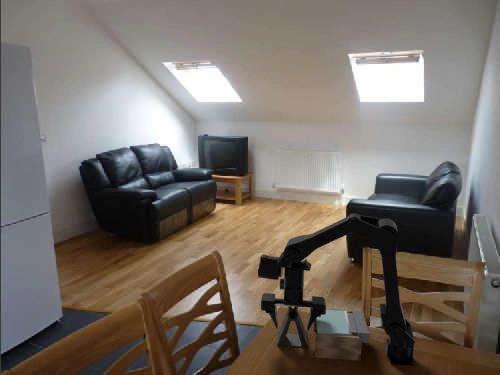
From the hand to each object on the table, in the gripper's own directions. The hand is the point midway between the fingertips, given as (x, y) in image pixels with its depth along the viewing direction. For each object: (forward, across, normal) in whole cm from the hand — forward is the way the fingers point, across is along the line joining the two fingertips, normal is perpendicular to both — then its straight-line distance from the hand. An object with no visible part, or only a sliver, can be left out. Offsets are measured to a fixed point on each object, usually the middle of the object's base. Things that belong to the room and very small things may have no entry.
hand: (292, 329), depth 117 cm
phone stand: (+4, 0, 0) cm, 4 cm away
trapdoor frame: (+4, -13, 0) cm, 13 cm away
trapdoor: (-1, -14, 0) cm, 14 cm away
